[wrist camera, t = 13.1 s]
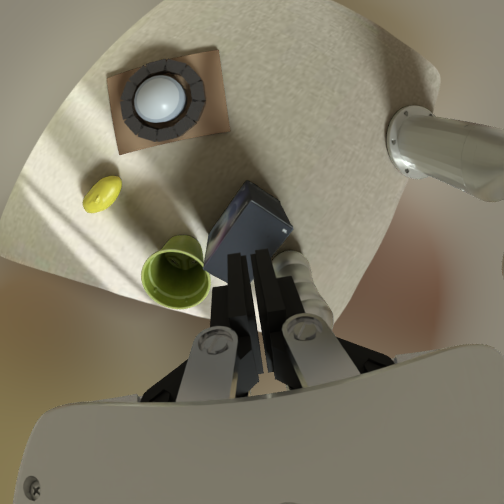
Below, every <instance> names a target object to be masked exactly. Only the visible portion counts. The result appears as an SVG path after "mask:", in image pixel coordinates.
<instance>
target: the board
mask: <svg viewBox="0 0 504 504" xmlns="http://www.w3.org/2000/svg"><path fill="white" fill-rule="evenodd" d="M171 60H175V61H179V62H182V63H186V64H187V65H189V66H190V67H191V68H192V69H193V70H194V71H195V72H196V73H197V74H198V76H199V77H200V78H201V79H202V80H203V83H204V86H205V93H206V100H207V101H206V102H205V103H206V106H205V108H204V110H203V113H202V115H201V118H200V120H199V121H196V122H197V124H196V125H195V126H194V127H192V128H191V129H190V130H189V131H187V132H186V133H185V134H184V135H183V136H180V137H178V138H174V139H169V140H165V141H161V142H158V141H157V142H153V141H150V140H147V139H143V138H140V137H138V135H135V134H134V133H133V132H132V131H131V130H130V129H129V127H128V126H127V125H126V124H125V123H124V121H125V120H123V118H122V112H121V106H120V102H121V101H124V100H121V99H120V98H121V96H122V93H123V90H124V88H125V85H126V83H127V81H129V82H131V81H130V80H129V78H130V77H131V76H132V75H133V74H134V73H136V72H137V71H138V70H139V69H140V68H141V67H139V68H136V69H132V70H129V71H126V72H123V73H120V74H117V75H115V76H112V77H109V78H107V84H108V92H109V99H110V106H111V113H112V119H113V125H114V130H115V136H116V141H117V146H118V151H119V155H122V154H126V153H129V152H133V151H137V150H141V149H145V148H149V147H153V146H157V145H161V144H165V143H170V142H174V141H179V140H184V139H189V138H194V137H200V136H205V135H211V134H217V133H223V132H230V126H229V119H228V112H227V105H226V98H225V91H224V84H223V77H222V70H221V63H220V56H219V50H213V51H207V52H201V53H196V54H191V55H186V56H181V57H177V58H172V59H171ZM163 76H168V77H171V78H173V79H174V80H176V81H177V82H178V83H180V84H181V85H182V86H183V87H184V89H185V90H186V93H187V105H186V108H185V110H184V111H183V113H182V114H181V115H180V116H179V117H177V118H176V119H174V120H171V121H168V122H157V123H156V122H149V121H146V120H144V119H143V120H144V121H145V122H146V123H147V124H148V125H150V126H153V127H156V128H160V129H164V128H168V127H172V126H174V125H175V124H176V123H178V122H179V121H180V120H181V119H182V118H184V117H185V116H186V114H187V112H188V109H189V107H190V104H191V102H192V96H191V90H190V85H189V84H188V83H187V81H186V80H185V79H184V78H183V77H181V76H178V75H174V74H170V73H167V74H163Z"/></svg>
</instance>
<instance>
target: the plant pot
mask: <svg viewBox="0 0 504 504" xmlns="http://www.w3.org/2000/svg"><path fill="white" fill-rule="evenodd" d="M181 253H183V254H184V255H182V254H181ZM172 259H173V260H174V261H175V262H176V263H177V264H178V265H177V264H175V263H173V262H172ZM194 260H196V262H195V263H194V264H192V262H193V261H194ZM203 265H204V260H203V253H202V248H201V246H200V244H199V243H198V241H197V240H195V239H194V238H193V237H190V236H188V235H178V236H174V237H172V238H171V239H169V240H168V242H167V243H166V244H165V245H164V247H163V248H162V249H161V250H160V251H157V252H155V253H154V254H152V255H151V256H150V257H149V258H148V259H147V260H146V262H145V263H144V265H143V268H142V272H141V280H142V284H143V287H144V289H145V291H146V293H147V294H148V295H149V296H150V297H151V298H152V299H153V300H154V301H155V302H157V303H159V304H160V305H162V306H165V307H168V308H172V309H187V308H191V307H194V306H196V305H198V304H199V303H201V302H202V301H203V300H204V299H205V298H206V296H207V295H208V293H209V290H210V286H211V278H210V274H209V273H208V272H206V271H205V270H203Z"/></svg>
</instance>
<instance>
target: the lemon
mask: <svg viewBox="0 0 504 504" xmlns="http://www.w3.org/2000/svg"><path fill="white" fill-rule="evenodd" d="M121 187H122V181H121V179H120V178H119V177H117V176H108V177H104V178H102V179H101V180H99V181H98V182H97V183H96V184H95V185H93V187H92V188H91V190H90V191H89V192H88V193H87V194H86V195H85V197H84V199H83V207H84V209H85V211H86V212H88V213H96V212H100V211H103V210H104V209H107V208H108V207H109V206H110V205H111V204H112V203H113V202H114V201H115V200H116V198H117V197H118V195H119V193H120V191H121Z"/></svg>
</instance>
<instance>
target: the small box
mask: <svg viewBox="0 0 504 504" xmlns="http://www.w3.org/2000/svg"><path fill="white" fill-rule="evenodd" d="M292 230H293V226H292V225H291V224H290V222H289V219H288V217H287V216H286V214H285V212H284V210H283V208H282V206H281V204H280V201H279V200H278V199H276V198H274V197H273V196H271V195H269V194H268V193H266V192H265V191H263V190H262V189H260V188H259V187H258V186H257V185H255V184H253V183H251V182H250V181H248V180H247V181H246V182H245V183H244V184H243V186H242V187H241V189H240V190H239V191H238V193H237V194H236V196H235V197H234V198H233V200H232V201H231V203H230V204H229V206H228V207H227V208H226V210H225V211H224V213H223V214H222V216H221V217H220V218H219V220H218V221H217V223H216V224H215V226H214V227H213V229H212V230H211V232H210V233H209V236H208V242H207V248H206V254H205V259H204V265H203V270H205V271H206V272H208V273H210V274H212V275H213V276H215V277H217V278H219V279H221V280H223V281H225V282H227V283H228V270H227V254H233V253H241V256H243V255H246V258H247V264H248V271H249V277H250V283H251V281H252V280H253V279H254V277H253V270H252V263H251V257H250V254H255V250H260V249H267V248H268V251H269V254H270V257H272V255H273V254H274V253H275V252H276V251H277V249H278V248H279V247H280V246H281V244H282V243H283V242H284V241H285V239H286V238H287V237H288V236H289V234H290V233H291V232H292Z"/></svg>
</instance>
